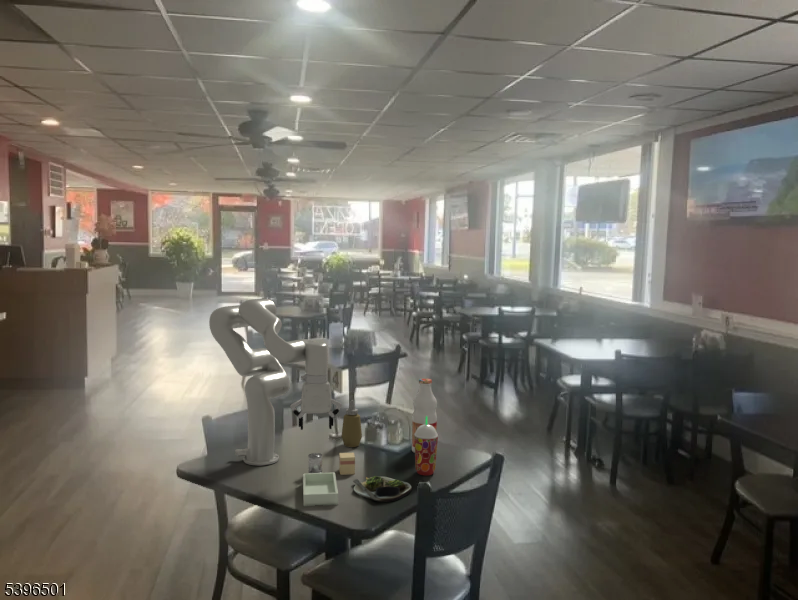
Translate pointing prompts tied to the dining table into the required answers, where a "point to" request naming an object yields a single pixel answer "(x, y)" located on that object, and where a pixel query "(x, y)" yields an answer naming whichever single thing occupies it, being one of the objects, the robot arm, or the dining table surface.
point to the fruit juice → (424, 408)
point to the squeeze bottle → (351, 427)
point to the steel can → (315, 463)
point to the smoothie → (425, 449)
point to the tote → (320, 489)
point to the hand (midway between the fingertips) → (316, 428)
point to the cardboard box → (346, 463)
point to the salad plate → (382, 489)
